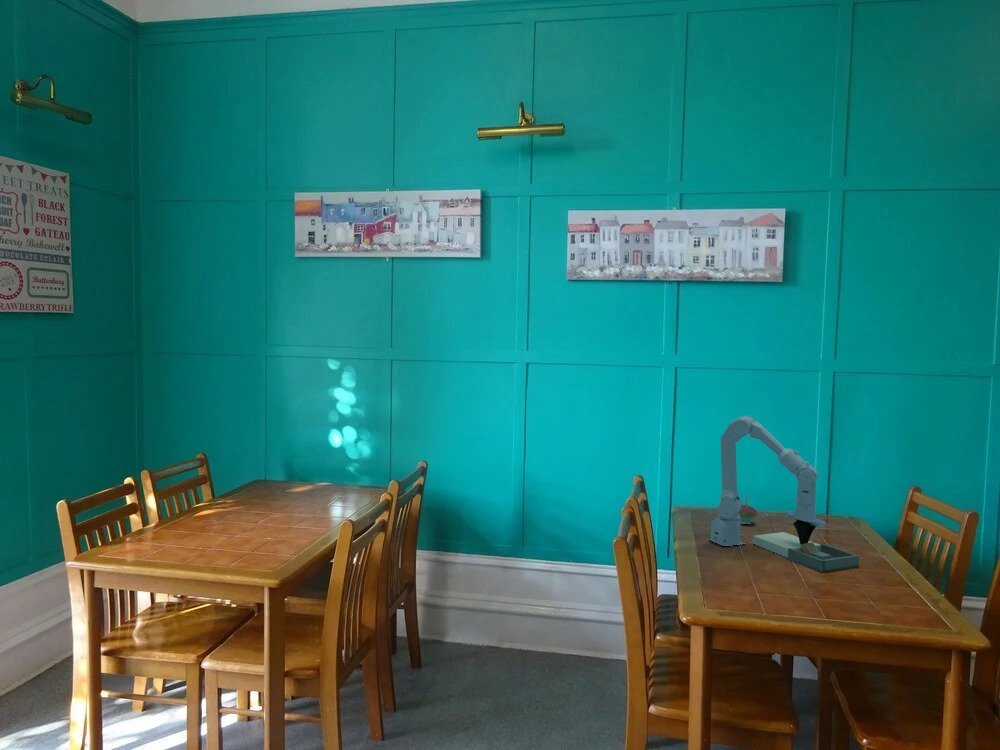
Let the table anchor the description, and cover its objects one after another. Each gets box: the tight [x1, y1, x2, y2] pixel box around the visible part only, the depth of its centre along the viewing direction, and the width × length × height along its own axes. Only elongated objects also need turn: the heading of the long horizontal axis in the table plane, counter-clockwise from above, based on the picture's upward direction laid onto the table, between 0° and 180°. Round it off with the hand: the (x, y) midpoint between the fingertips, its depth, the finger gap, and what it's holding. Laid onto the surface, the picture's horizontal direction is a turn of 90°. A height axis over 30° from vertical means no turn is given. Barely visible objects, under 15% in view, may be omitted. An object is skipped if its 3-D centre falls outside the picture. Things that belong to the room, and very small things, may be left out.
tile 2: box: [811, 552, 831, 560], centre depth 225 cm, size 4×4×2 cm
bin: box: [787, 543, 860, 573], centre depth 224 cm, size 16×14×4 cm
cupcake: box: [738, 494, 758, 523], centre depth 269 cm, size 9×8×12 cm
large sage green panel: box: [752, 531, 821, 559], centre depth 238 cm, size 14×16×3 cm
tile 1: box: [801, 541, 819, 555], centre depth 229 cm, size 4×4×2 cm
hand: (803, 544), depth 231 cm, fingers closed
